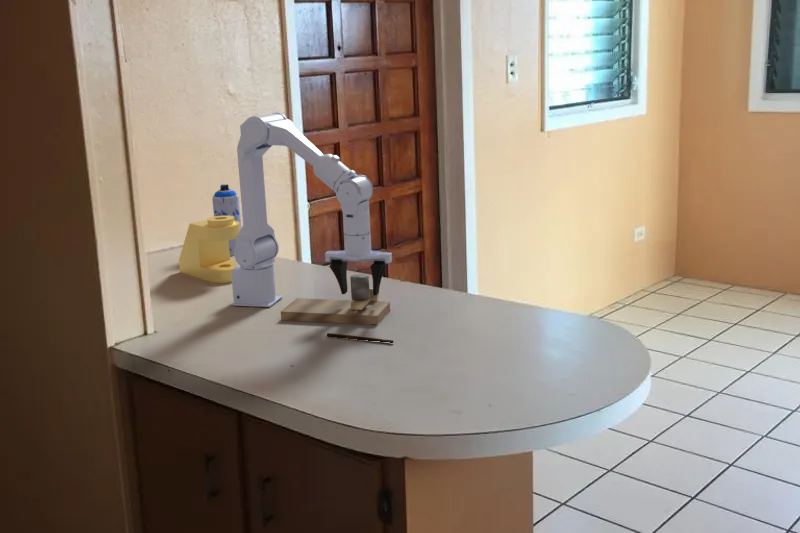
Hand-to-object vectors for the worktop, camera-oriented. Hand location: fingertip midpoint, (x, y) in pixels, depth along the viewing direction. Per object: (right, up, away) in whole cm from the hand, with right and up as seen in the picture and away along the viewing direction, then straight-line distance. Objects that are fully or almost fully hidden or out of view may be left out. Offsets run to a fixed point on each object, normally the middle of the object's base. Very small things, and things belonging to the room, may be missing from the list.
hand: (360, 293), depth 187 cm
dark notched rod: (+1, -9, -14) cm, 17 cm away
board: (-5, -5, +2) cm, 7 cm away
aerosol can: (-41, +10, +63) cm, 76 cm away
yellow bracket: (-40, +4, +39) cm, 57 cm away
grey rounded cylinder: (0, -4, +2) cm, 4 cm away
